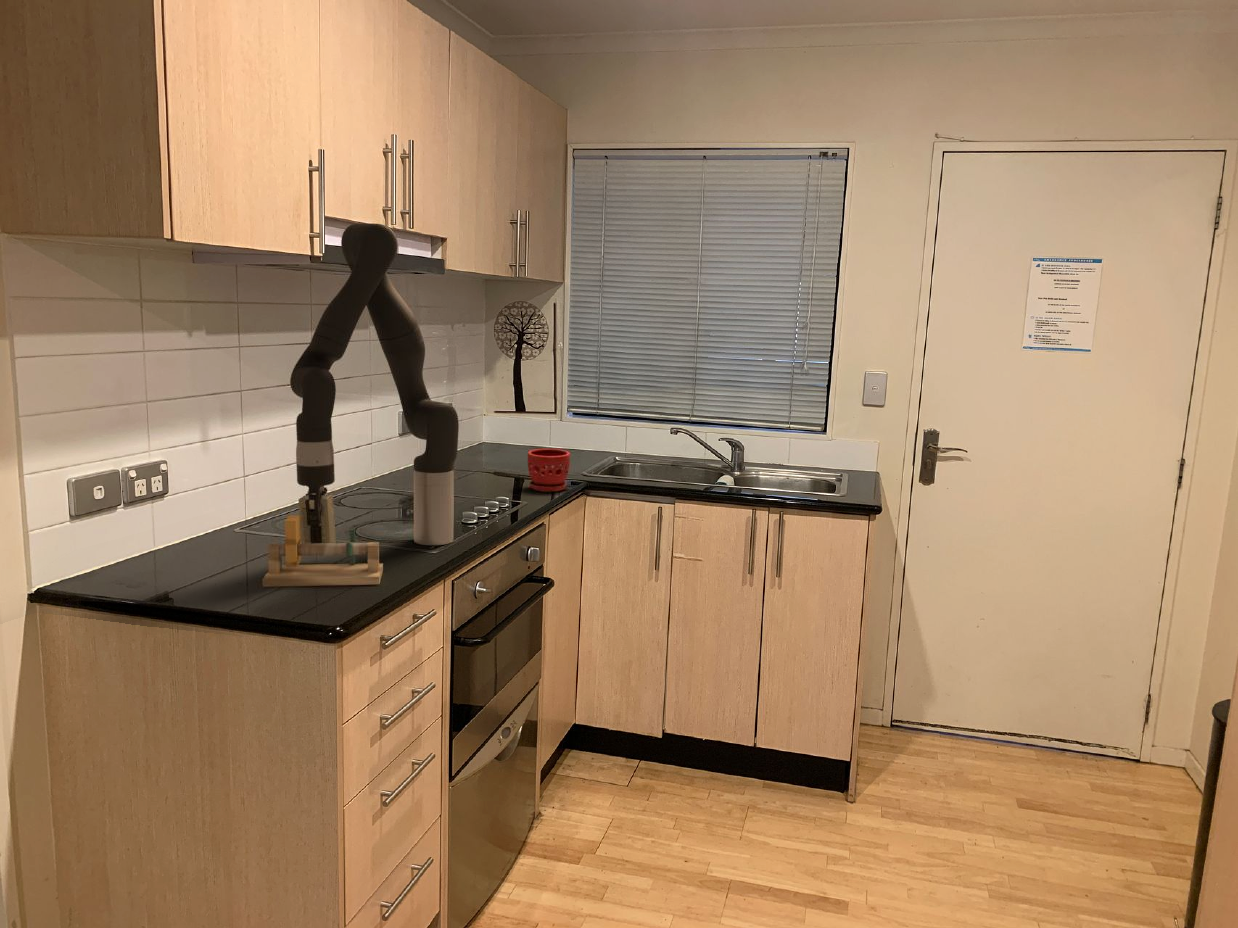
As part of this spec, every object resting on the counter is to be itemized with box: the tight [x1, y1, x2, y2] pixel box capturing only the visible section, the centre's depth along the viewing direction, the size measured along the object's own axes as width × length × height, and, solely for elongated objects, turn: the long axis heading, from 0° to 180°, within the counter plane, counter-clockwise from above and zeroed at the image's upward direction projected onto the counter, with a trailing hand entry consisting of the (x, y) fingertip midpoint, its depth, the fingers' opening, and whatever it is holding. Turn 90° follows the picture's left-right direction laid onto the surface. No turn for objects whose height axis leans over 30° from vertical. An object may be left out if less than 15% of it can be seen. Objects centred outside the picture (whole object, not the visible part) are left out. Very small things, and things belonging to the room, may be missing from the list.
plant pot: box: [527, 448, 571, 493], centre depth 282 cm, size 13×13×12 cm
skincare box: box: [298, 494, 337, 544], centre depth 192 cm, size 6×4×12 cm
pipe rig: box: [262, 528, 384, 588], centre depth 183 cm, size 10×22×9 cm, turn 100°
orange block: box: [284, 514, 302, 567], centre depth 181 cm, size 6×2×9 cm, turn 10°
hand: (318, 539), depth 193 cm, fingers closed on skincare box, 4 cm apart
